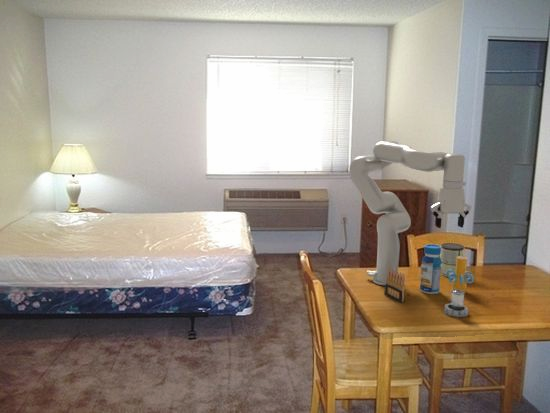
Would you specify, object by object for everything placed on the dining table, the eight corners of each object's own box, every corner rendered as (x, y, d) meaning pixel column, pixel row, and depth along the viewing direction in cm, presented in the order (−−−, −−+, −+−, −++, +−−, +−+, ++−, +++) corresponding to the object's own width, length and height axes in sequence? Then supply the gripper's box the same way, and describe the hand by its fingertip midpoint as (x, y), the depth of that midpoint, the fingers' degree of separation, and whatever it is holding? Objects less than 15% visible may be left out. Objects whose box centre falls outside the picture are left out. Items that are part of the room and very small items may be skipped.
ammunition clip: (404, 302, 206) (406, 274, 204) (401, 303, 205) (403, 274, 203) (388, 294, 216) (389, 266, 213) (384, 294, 215) (386, 267, 213)
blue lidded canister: (441, 295, 215) (444, 249, 212) (420, 293, 217) (423, 248, 213) (438, 288, 224) (441, 244, 220) (418, 287, 225) (421, 243, 221)
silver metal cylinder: (447, 309, 198) (449, 289, 196) (458, 308, 199) (460, 288, 197) (453, 313, 193) (455, 293, 192) (465, 313, 194) (466, 293, 193)
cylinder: (474, 297, 214) (477, 262, 211) (448, 294, 216) (451, 260, 213) (469, 287, 226) (472, 254, 223) (444, 285, 228) (447, 253, 225)
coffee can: (438, 270, 250) (440, 242, 248) (460, 271, 248) (462, 243, 246) (440, 276, 241) (442, 247, 238) (463, 278, 238) (465, 249, 236)
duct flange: (443, 315, 193) (443, 309, 193) (443, 307, 202) (444, 301, 201) (468, 319, 190) (469, 313, 190) (468, 310, 199) (468, 304, 198)
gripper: (467, 183, 208) (463, 224, 211) (428, 183, 205) (425, 225, 208) (477, 186, 201) (474, 228, 204) (437, 186, 198) (433, 229, 201)
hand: (449, 227), depth 206 cm, fingers open, 9 cm apart
